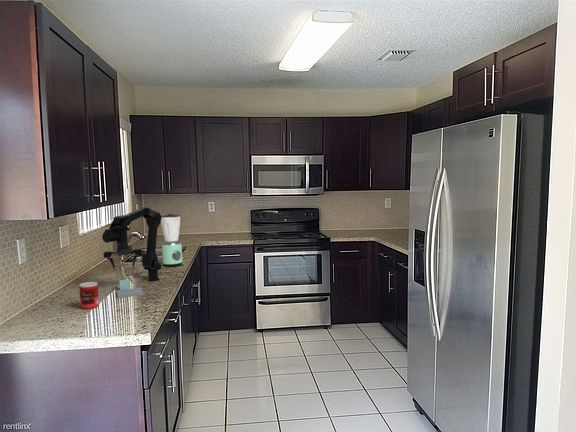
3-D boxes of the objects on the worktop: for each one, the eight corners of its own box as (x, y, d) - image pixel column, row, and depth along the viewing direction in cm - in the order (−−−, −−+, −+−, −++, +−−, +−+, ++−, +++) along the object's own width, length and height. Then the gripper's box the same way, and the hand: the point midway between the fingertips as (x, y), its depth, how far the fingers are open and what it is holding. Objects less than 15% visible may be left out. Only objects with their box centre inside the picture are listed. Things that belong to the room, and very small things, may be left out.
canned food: (94, 303, 194) (92, 280, 193) (102, 306, 189) (100, 283, 188) (77, 307, 188) (75, 284, 187) (85, 310, 183) (83, 286, 182)
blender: (188, 265, 276) (185, 214, 273) (169, 268, 267) (166, 215, 264) (174, 261, 290) (171, 212, 287) (156, 264, 281) (153, 214, 278)
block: (119, 289, 219) (119, 280, 219) (129, 288, 221) (129, 279, 221) (120, 291, 215) (119, 282, 214) (130, 290, 217) (129, 281, 216)
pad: (117, 292, 213) (117, 290, 213) (141, 289, 218) (141, 287, 217) (117, 298, 202) (117, 296, 202) (143, 294, 207) (143, 292, 207)
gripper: (102, 243, 205) (104, 274, 206) (141, 240, 212) (143, 269, 213) (102, 240, 215) (104, 269, 216) (140, 237, 222) (141, 265, 224)
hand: (123, 268), depth 217 cm, fingers open, 9 cm apart
